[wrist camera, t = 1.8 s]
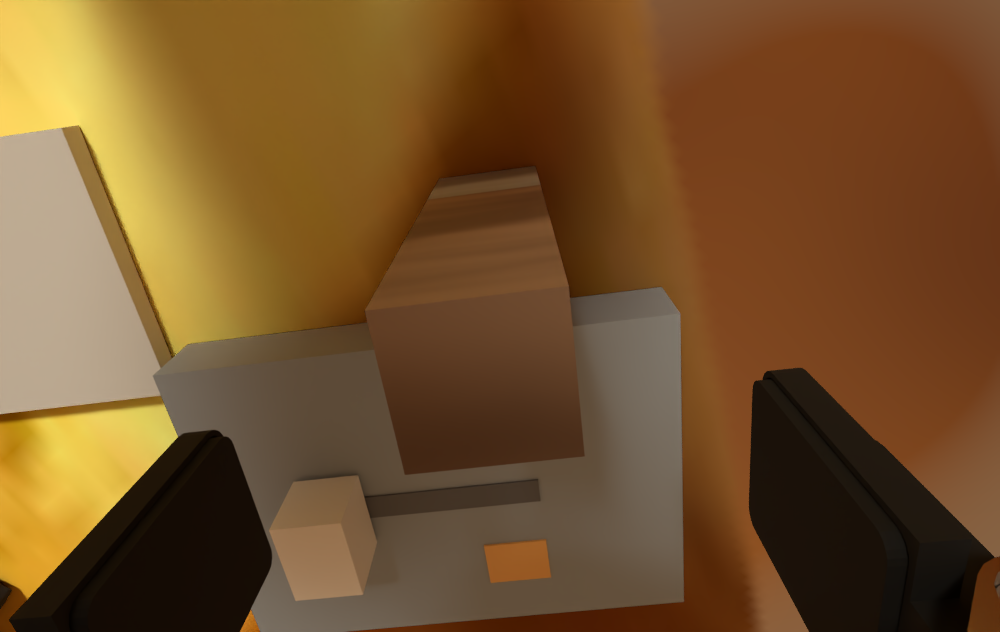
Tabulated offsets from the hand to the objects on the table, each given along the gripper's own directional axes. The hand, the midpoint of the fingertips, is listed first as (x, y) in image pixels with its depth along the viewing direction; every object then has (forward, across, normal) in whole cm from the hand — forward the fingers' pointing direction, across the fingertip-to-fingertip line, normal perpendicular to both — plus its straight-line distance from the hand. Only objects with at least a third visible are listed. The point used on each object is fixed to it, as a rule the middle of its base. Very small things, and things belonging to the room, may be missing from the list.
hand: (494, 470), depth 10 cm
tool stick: (+16, 0, -1) cm, 16 cm away
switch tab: (+13, +9, +11) cm, 20 cm away
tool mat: (+16, +22, -1) cm, 27 cm away
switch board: (+16, +4, +11) cm, 20 cm away
